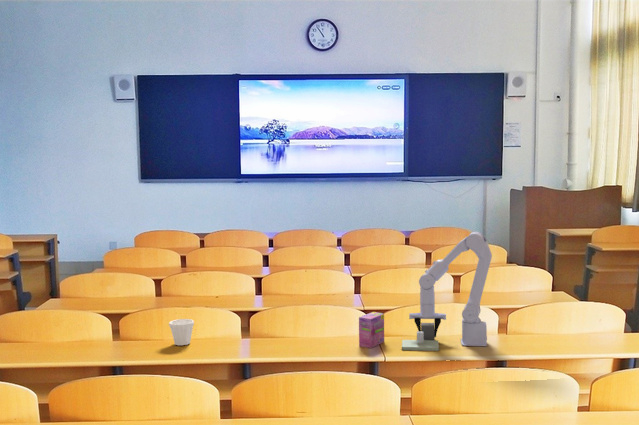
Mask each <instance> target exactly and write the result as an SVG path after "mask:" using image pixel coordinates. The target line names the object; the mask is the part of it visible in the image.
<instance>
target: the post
mask: <svg viewBox="0 0 639 425" xmlns="http://www.w3.org/2000/svg"><path fill="white" fill-rule="evenodd" d="M416 340H417V345H424V332H422V331H416Z"/></svg>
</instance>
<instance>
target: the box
mask: <svg viewBox="0 0 639 425" xmlns="http://www.w3.org/2000/svg"><path fill="white" fill-rule="evenodd" d="M383 343H385V314H384V313H382V312H378V311H377V312H376V311H372V312H369V313H367V314H364V315H362V316H359V317H358V346H359V347H362V348H367V349H372V348H375V347H377V346H379V345H381V344H383Z"/></svg>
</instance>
